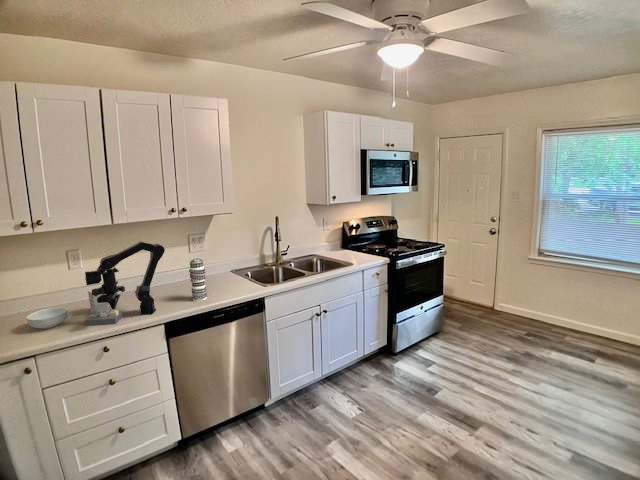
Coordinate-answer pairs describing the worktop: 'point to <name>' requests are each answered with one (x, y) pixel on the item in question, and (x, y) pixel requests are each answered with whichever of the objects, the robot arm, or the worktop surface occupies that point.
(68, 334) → the worktop surface
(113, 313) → the key
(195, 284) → the decorative candle
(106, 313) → the key mid
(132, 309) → the worktop surface
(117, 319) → the gray key socket board
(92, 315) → the key
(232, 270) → the worktop surface
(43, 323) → the cereal bowl
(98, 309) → the supplement box
